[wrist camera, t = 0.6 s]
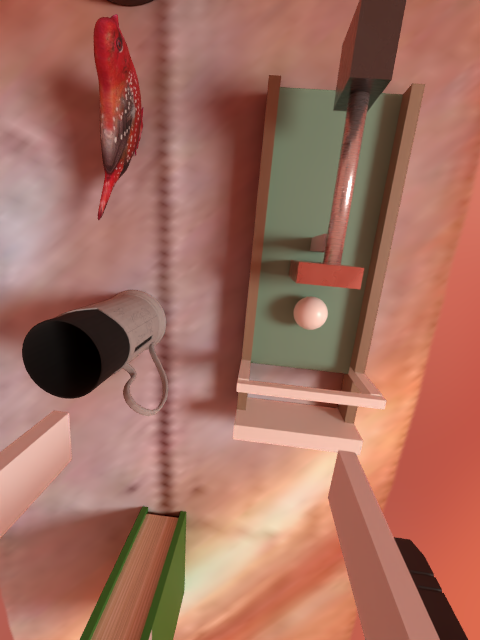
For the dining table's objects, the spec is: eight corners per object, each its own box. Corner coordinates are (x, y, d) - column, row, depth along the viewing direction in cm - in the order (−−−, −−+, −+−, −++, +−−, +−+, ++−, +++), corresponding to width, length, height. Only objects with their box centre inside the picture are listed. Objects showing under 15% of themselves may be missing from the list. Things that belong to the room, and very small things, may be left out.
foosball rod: (313, 80, 30) (340, -9, 20) (372, 84, 29) (429, -5, 19) (288, 276, 35) (299, 286, 24) (338, 281, 34) (370, 293, 24)
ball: (294, 292, 36) (298, 297, 32) (326, 296, 35) (334, 301, 31) (290, 323, 36) (293, 331, 33) (321, 326, 36) (328, 335, 32)
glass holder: (129, 276, 38) (48, 291, 24) (208, 345, 40) (176, 399, 25) (93, 322, 40) (-3, 361, 26) (169, 386, 42) (119, 458, 27)
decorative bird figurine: (163, 72, 32) (120, -4, 23) (135, 228, 37) (90, 220, 27) (138, 66, 32) (86, -14, 23) (114, 222, 37) (61, 212, 27)
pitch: (268, 94, 32) (271, 25, 22) (407, 102, 31) (472, 35, 22) (237, 408, 42) (230, 456, 32) (343, 421, 41) (369, 474, 31)
